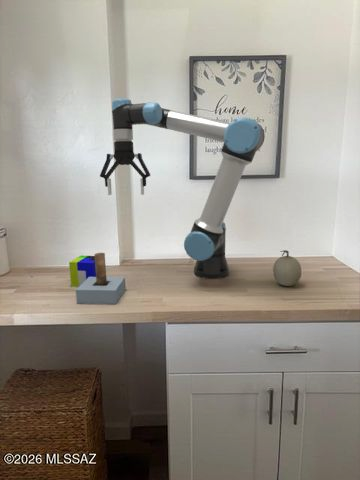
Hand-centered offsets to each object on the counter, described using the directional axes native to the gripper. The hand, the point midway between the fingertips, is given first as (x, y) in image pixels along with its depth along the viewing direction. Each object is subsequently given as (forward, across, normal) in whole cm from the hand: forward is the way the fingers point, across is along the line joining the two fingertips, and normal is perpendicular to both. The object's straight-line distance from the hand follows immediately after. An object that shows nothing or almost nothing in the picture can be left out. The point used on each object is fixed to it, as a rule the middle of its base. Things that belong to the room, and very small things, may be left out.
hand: (126, 194), depth 144 cm
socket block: (+35, +5, +24) cm, 42 cm away
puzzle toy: (+35, +15, +9) cm, 39 cm away
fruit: (+35, -64, +9) cm, 73 cm away
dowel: (+35, +5, +24) cm, 42 cm away
